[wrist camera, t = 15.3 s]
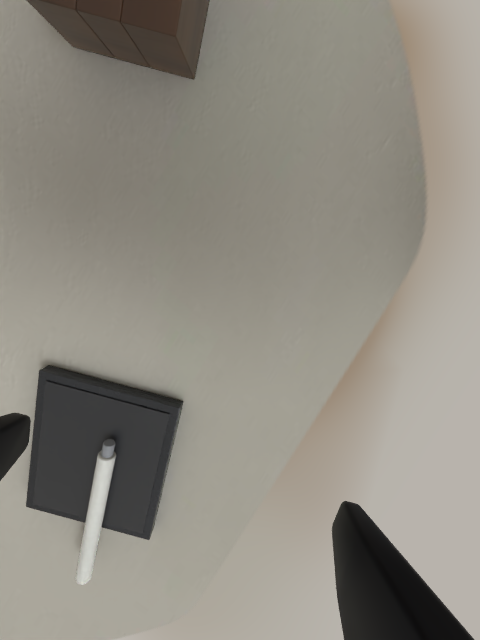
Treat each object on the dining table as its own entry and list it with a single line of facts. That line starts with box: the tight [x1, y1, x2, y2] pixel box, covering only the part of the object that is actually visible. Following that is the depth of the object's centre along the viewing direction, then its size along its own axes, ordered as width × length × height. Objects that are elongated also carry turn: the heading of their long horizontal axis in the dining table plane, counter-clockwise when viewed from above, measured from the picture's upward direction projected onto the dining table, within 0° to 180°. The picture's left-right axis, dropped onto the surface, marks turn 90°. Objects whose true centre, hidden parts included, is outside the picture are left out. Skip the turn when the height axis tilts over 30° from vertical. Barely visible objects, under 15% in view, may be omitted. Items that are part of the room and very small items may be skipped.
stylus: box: [75, 439, 116, 584], centre depth 24 cm, size 1×1×13 cm
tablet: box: [26, 365, 183, 540], centre depth 24 cm, size 10×12×1 cm
